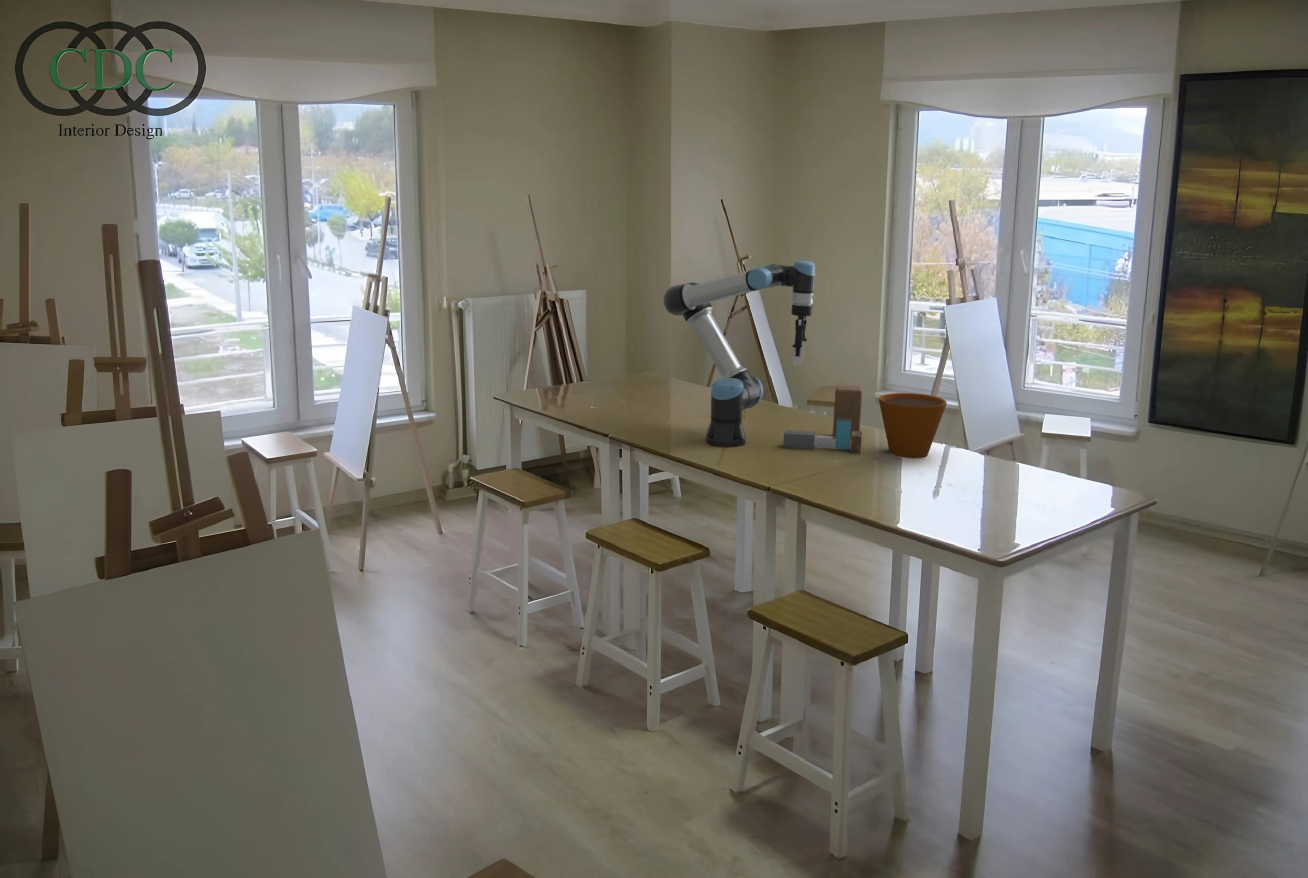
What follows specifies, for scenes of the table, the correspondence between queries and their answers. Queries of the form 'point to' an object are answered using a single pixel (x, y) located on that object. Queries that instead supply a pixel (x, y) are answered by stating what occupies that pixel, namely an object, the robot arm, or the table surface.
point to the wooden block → (848, 406)
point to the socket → (856, 442)
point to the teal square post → (841, 437)
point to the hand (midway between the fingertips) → (798, 362)
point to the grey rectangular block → (799, 439)
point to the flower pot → (911, 422)
